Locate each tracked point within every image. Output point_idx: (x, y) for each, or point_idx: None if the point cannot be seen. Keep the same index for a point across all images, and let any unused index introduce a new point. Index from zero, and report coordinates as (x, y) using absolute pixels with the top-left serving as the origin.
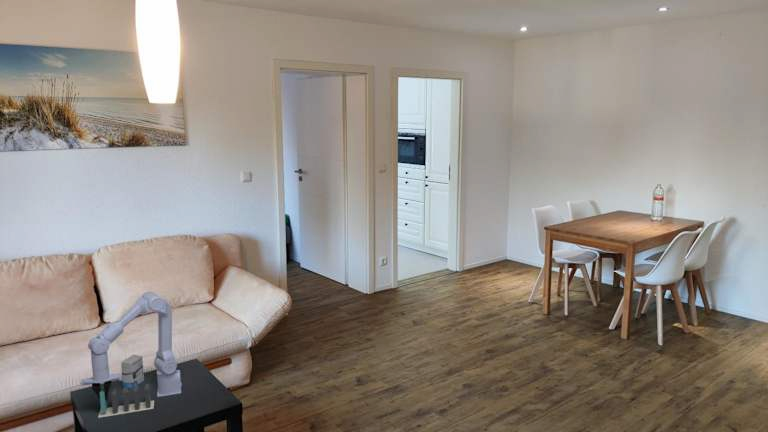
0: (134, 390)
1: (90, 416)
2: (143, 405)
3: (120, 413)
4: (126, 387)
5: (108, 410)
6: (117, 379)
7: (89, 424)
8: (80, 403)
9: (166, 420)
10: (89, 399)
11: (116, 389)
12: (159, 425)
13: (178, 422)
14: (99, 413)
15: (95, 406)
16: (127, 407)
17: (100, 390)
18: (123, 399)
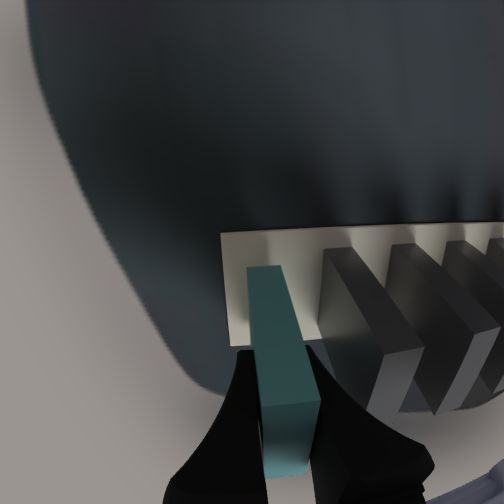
0: (502, 381)
1: (174, 310)
2: None
3: None
4: (490, 334)
5: (285, 275)
6: (470, 495)
7: (198, 385)
8: (47, 88)
9: (481, 387)
10: (97, 29)
11: (416, 362)
12: (455, 410)
13: (495, 395)
14: (227, 298)
15: (168, 166)
16: None
17: (264, 449)
18: (415, 378)
